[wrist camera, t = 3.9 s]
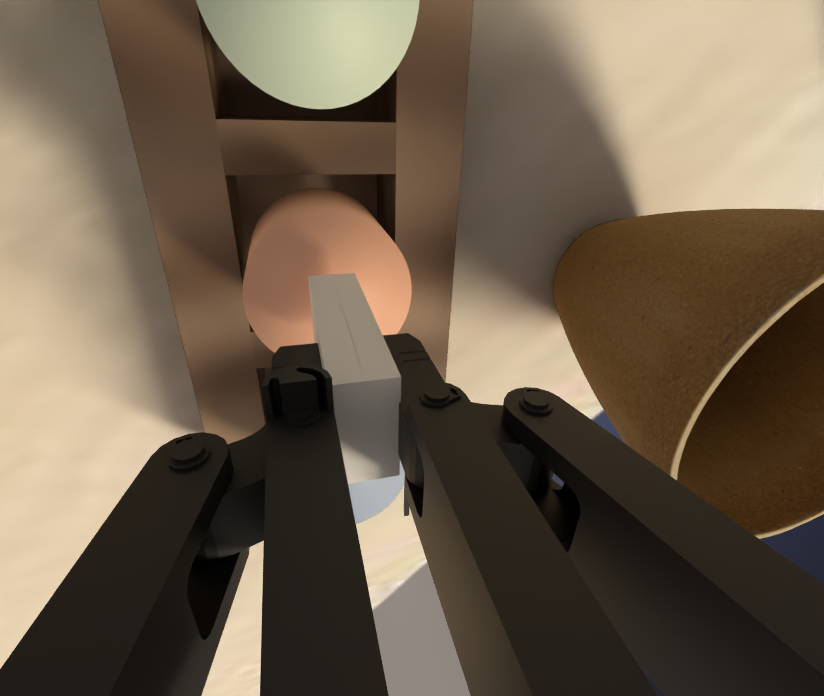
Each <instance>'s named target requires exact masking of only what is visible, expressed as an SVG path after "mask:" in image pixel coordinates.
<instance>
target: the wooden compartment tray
mask: <svg viewBox="0 0 824 696" xmlns="http://www.w3.org/2000/svg"><path fill="white" fill-rule="evenodd" d="M98 2H99V6H100V10H101V14H102V18H103V22H104V26H105V30H106V34H107V38H108V43H109V47H110V51H111V55H112V59H113V63H114V67H115V71H116V75H117V79H118V83H119V87H120V91H121V95H122V99H123V103H124V107H125V111H126V116H127V120H128V124H129V128H130V132H131V136H132V140H133V144H134V148H135V152H136V156H137V160H138V164H139V168H140V172H141V176H142V180H143V184H144V188H145V193H146V197H147V201H148V205H149V209H150V213H151V217H152V221H153V225H154V229H155V233H156V237H157V241H158V245H159V249H160V253H161V257H162V261H163V266H164V270H165V274H166V278H167V282H168V286H169V290H170V294H171V298H172V302H173V306H174V310H175V314H176V318H177V322H178V326H179V330H180V334H181V339H182V343H183V347H184V351H185V355H186V359H187V363H188V367H189V371H190V375H191V379H192V383H193V387H194V391H195V395H196V399H197V403H198V407H199V412H200V416H201V420H202V424H203V428H204V432H205V433H211V434H217V435H218V436H220V437H222V438H224V439H225V440H226V442H227V444H230V443H233V442H236V441H238V440H241V439H244V438H246V437H248V436H250V435H252V434H254V433H255V432H257V431H259V430H260V429H261V428H262V427H263V426H264V425H265V424H266V423H267V419H266V412H265V406H264V400H263V394H262V387H261V385H262V383H263V380H264V378H266V377H267V376H268V375H269V374H270V373H271V372H272V356H273V355H274V354H275V353H274V352H273V351H271V350H270V349H269V348H268V347H267V346H266V345H265V344H264V343H263V342H262V341H261V340H260V339H259V337H258V336H257V335H256V334H255V332H254V330H253V329H252V327H251V325H250V323H249V321H248V318H247V316H246V312H245V308H244V304H243V280H244V275H245V270H246V264H247V259H248V253H249V248H250V243H251V238H252V234H253V231H254V228H255V226H256V224H257V222H258V220H259V219H260V217H261V216H262V214H263V213H264V212H265V211H266V210H267V209H268V208H269V207H270V206H271V205H272V204H273V203H274V202H276V201H277V200H278V199H280V198H282V197H283V196H285V195H287V194H290V193H292V192H295V191H298V190H303V189H310V188H325V189H330V190H335V191H338V192H341V193H344V194H346V195H348V196H350V197H352V198H353V199H355V200H356V201H358V202H359V203H361V204H362V205H363V206H364V207H365V208H366V209H367V210H368V211H369V212H370V213H371V214H372V216H373V217H374V218H375V219H376V221H377V222H378V223H379V224H380V225H381V227H382V228H383V229H384V230H385V232H386V233H387V234H388V235H389V237H390V238H391V239H392V240H393V241H394V243H395V244H396V245H397V247H398V248H399V250H400V251H401V253H402V254H403V257H404V259H405V261H406V263H407V266H408V269H409V272H410V277H411V286H412V294H411V303H410V307H409V311H408V314H407V317H406V319H405V321H404V323H403V325H402V327H401V329H400V330H399V332H398V333H397V334H403V333H409V334H410V335H412V336H414V337H415V338H417V339H418V340H420V341H421V343H422V345H423V346H424V348H425V350H426V352H427V353H428V355H429V357H430V360H432V362H433V363H434V365H435V367H436V368H437V370H438V372H439V373H440V375H441V377H442V378H443V380H444V382H445V380H446V366H447V353H448V339H449V326H450V312H451V298H452V285H453V271H454V258H455V244H456V231H457V217H458V204H459V190H460V177H461V163H462V149H463V136H464V122H465V109H466V95H467V82H468V68H469V55H470V41H471V28H472V14H473V0H419V10H418V15H417V21H416V26H415V29H414V32H413V36H412V39H411V42H410V44H409V46H408V49H407V51H406V53H405V55H404V57H403V59H402V60H401V62H400V64H399V65H398V67H397V68H396V70H395V71H394V72H393V74H392V75H391V76H390V78H389V79H388V80H387V81H386V82H385V83H384V84H383V85H382V86H381V87H380V88H378V89H377V90H376V91H374V92H373V93H372V94H370V95H369V96H367V97H365V98H363V99H362V100H360V101H358V102H355V103H352V104H350V105H347V106H343V107H338V108H333V109H311V108H304V107H300V106H295V105H292V104H289V103H286V102H284V101H281V100H279V99H277V98H275V97H273V96H271V95H269V94H268V93H266V92H264V91H263V90H261V89H260V88H258V87H257V86H256V85H254V84H253V83H251V82H250V81H249V80H248V79H247V78H246V77H245V76H244V75H242V74H241V73H240V72H239V71H238V70H237V69H236V67H235V66H234V65H233V64H232V63H231V62H230V61H229V60H228V59H227V57H226V56H225V54H224V53H223V52H222V50H221V49H220V48H219V46H218V45H217V43H216V42H215V40H214V38H213V36H212V35H211V33H210V31H209V29H208V28H207V26H206V24H205V21H204V19H203V17H202V15H201V12H200V10H199V8H198V5H197V2H196V0H98Z"/></svg>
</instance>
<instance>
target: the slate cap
mask: <svg viewBox="0 0 824 696" xmlns="http://www.w3.org/2000/svg"><path fill="white" fill-rule="evenodd" d="M404 481H405V472H404V469H403V466H402V463H401V460H400V475H398V476H392V477H387V478H381V479H375V480H369V481H363V482H357V483H352V484H348V486H349V492H350V497H351V502H352V507H353V513H354V518H355V523H356V524H357V523H360V522H363V521H365V520H367V519H370V518H371V517H373V516H375V515H377V514H378V513H380V512H381V511H383V510H384V509H385V508H386V507H388V506H389V505H390V504H391V503H392V502H393V501H394V499H395V498H396V497H397V496H398V494H399V493H400V491H401V489H402V487H403V485H404Z"/></svg>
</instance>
